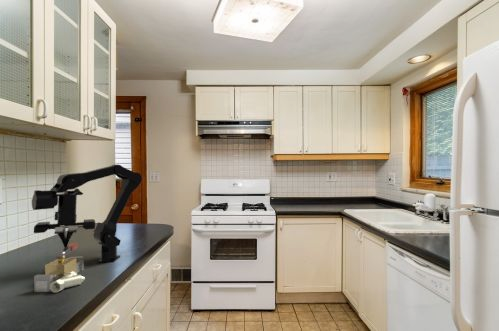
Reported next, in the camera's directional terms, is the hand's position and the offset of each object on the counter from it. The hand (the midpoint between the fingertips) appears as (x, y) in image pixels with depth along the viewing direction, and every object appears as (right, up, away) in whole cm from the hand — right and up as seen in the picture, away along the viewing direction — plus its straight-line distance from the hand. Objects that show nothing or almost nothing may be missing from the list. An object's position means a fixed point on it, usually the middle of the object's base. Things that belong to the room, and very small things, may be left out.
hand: (65, 248), depth 101 cm
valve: (+4, -9, -7) cm, 12 cm away
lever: (+3, -1, -3) cm, 4 cm away
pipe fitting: (+10, -9, -13) cm, 19 cm away
